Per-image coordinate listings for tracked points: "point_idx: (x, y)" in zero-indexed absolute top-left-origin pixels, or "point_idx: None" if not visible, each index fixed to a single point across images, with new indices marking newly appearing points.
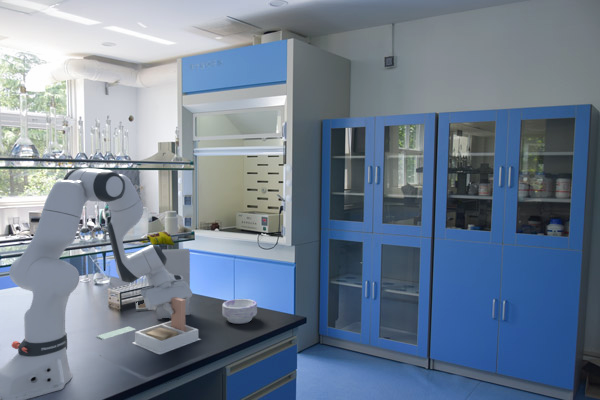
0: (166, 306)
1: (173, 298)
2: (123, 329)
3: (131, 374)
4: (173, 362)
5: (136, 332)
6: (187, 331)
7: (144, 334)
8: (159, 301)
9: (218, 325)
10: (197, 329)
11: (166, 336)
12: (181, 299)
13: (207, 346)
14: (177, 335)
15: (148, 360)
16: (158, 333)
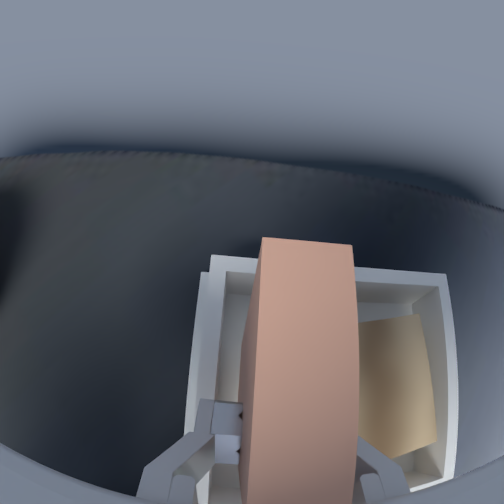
0: (392, 470)
1: (350, 473)
2: None
3: (499, 260)
4: (404, 222)
5: (452, 476)
6: (220, 346)
7: (449, 425)
8: (502, 477)
9: (9, 344)
10: (215, 257)
11: (399, 317)
12: (296, 305)
13: (230, 219)
14: (355, 279)
15: (453, 300)
16: (405, 388)
